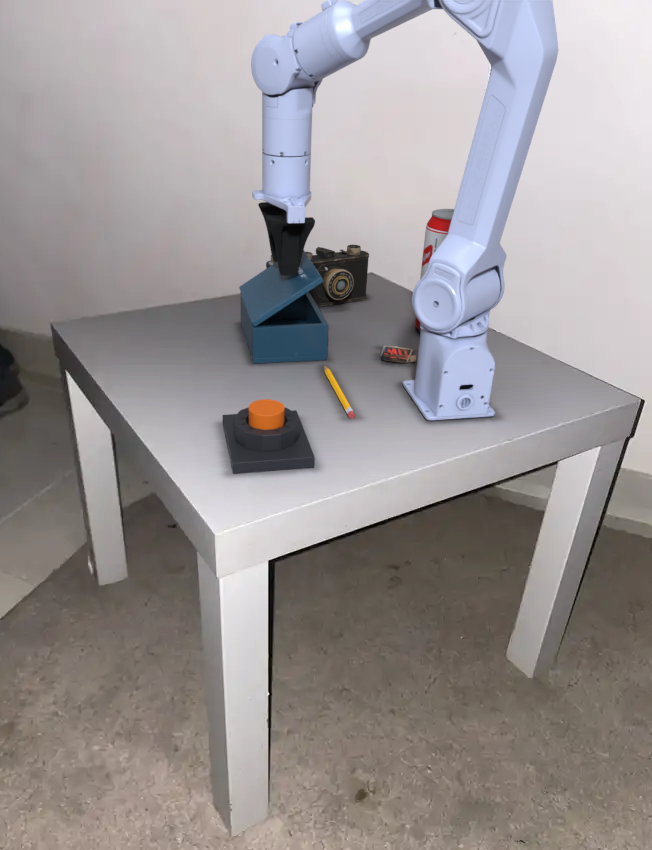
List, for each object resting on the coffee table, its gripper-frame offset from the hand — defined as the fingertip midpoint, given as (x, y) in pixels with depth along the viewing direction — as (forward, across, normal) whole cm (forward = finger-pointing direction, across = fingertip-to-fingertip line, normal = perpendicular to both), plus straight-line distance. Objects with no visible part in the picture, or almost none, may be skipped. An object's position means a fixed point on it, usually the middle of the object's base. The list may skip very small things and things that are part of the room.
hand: (284, 267), depth 97 cm
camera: (+10, -13, +8) cm, 18 cm away
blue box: (+10, 0, 0) cm, 10 cm away
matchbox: (+10, +7, +14) cm, 18 cm away
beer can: (+10, -1, +22) cm, 24 cm away
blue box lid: (+2, 0, -1) cm, 2 cm away
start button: (+7, +27, -6) cm, 29 cm away
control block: (+10, +27, -6) cm, 29 cm away
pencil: (+10, +16, +4) cm, 19 cm away
